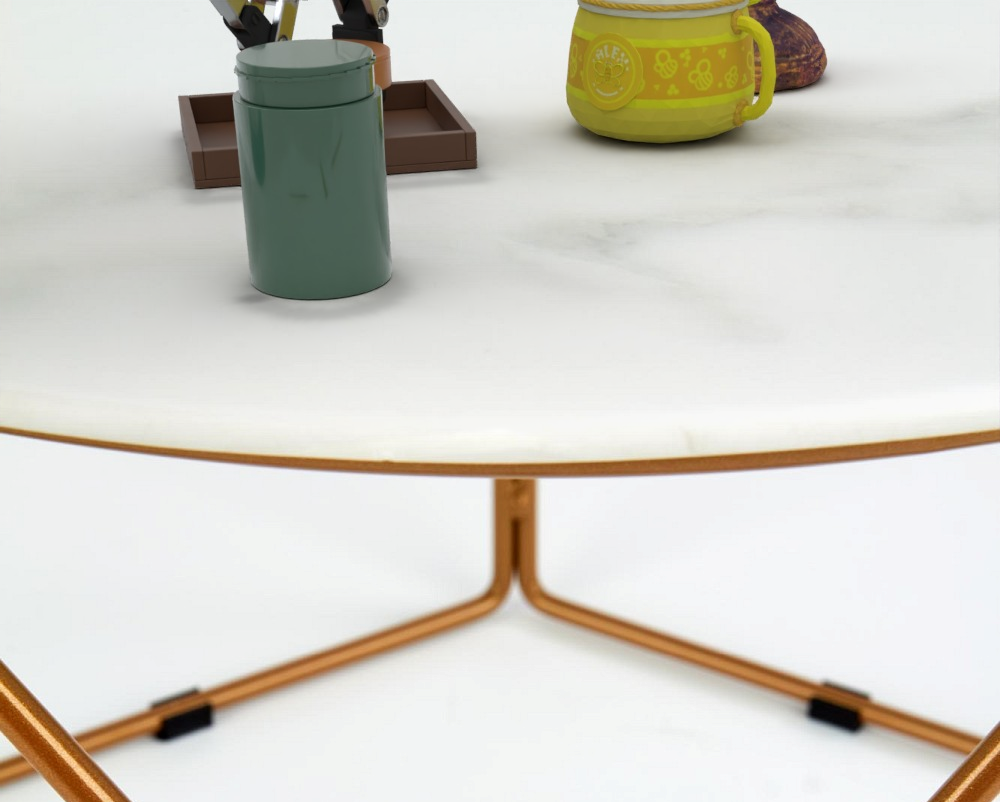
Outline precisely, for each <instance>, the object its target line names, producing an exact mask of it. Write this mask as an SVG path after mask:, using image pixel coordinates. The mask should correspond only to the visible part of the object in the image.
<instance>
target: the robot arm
mask: <svg viewBox="0 0 1000 802" xmlns="http://www.w3.org/2000/svg"><path fill="white" fill-rule="evenodd" d="M303 1H307V0H303ZM389 1H390V0H331V2H332V4H333V6H334V10H335V11H336V15H337V17H338V19H339V22H341V23H336V24H332V25H331V39H356V40H366V41H374V42H379V43H382V44H384V31H383V30H384V28H385V27H386V26H387V25H388V22H389V19H390V11H389V7H388V4H389ZM209 2H210V3H211V4H212V6H213V7H214V9H215V10H216V11H217V13H218V14H219V15H220V16H221V17H222V20H223V24H224V25H225V27H226V28H227V29H228V30H229V32H230V33H232V35H233V36H234V37H235V39H236V46H237V49H238V50H239V52H240V51H242V50H244V49H247V48H250V47H253V46H257V45H261V44H266V43H272V42H280V41H290V40H293V37H294V36H293V35H294V30H295V26H296V21H297V20H296V19H297V15H298V10H299V4H300V0H209ZM266 6H271V7H273V6H274V10H273V11H274V12H273V17H272V23H271V21H270V20H269V19H268V18H267V16H265V9H266ZM382 99H383V102H384V101H385V100H386V89H384V90H382Z"/></svg>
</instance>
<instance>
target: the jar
mask: <svg viewBox="0 0 1000 802" xmlns="http://www.w3.org/2000/svg"><path fill="white" fill-rule="evenodd" d="M326 39H327V38H326ZM326 39H325V38H324V39H322V38H319V39H318V38H315V39H313V38H312V39H307V38H306V39H292V40H290V41H280V42H272V43H266V44H261V45H257V46H253V47H250V48H247V49H244V50H242V51H240V50H239V52H238V53H236V54H235V65H234V68H233V73H234V74H235V75H236V77H237V84H238V85H237V86H238V90H237V89H236V91H234V92H235V93H234V94H233V107H234V117H235V127H236V137H237V147H238V157H239V167H240V177H241V185H240V187H241V197H242V206H243V217H244V226H245V235H246V246H247V247H246V248H247V255H248V256H247V257H248V266H249V276H250V277H249V278H250V282H251V284H252V286H253V287H254V288H255V289H257V290H258V291H260V292H262V293H265V294H267V295H271V296H275V297H280V298H285V299H293V300H295V299H296V300H327V299H329V300H330V299H340V298H346V297H352V296H356V295H360V294H364V293H367V292H371V291H373V290H375V289H378V288H380V287H381V286H383V285H385V284H387V283H388V281H390V279H391V278H392V275H393V270H392V269H393V268H392V251H391V250H392V249H391V233H390V231H391V230H390V215H389V214H390V213H389V212H390V211H389V194H388V193H389V192H388V177H387V176H388V174H387V173H386V154H385V136H384V117H383V99H382V89H381V88H380V87H379V86H378V85H376V84H375V80H374V64H375V63H376V54H374V53H373V51H372V49H371V48H370V47H368V46H366V45H363V44H360V43H355V42H350V41H342V40H326Z"/></svg>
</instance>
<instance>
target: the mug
mask: <svg viewBox="0 0 1000 802" xmlns="http://www.w3.org/2000/svg"><path fill="white" fill-rule="evenodd" d="M759 1H761V0H577V5H578V8H577V12H576V14H575V17H574V21H573V25H572V29H571V37H570V44H569V51H568V59H567V60H568V62H567V70H566V71H567V73H566V83H565V94H566V95H565V96H566V104H567V107H568V109H569V111H570V114H571V116H572V117H573V119H574V120H575V121H576V123H577V124H579V125H580V126H581V127H583V128H585V129H586V130H589V131H590V132H591V133H594V134H595V135H598V136H603V137H607V138H611V139H617V140H622V141H627V142H640V143H651V144H668V143H678V142H679V143H680V142H689V141H690V142H691V141H696V140H697V141H699V140H704V139H710V138H713V137H715V136H718V135H721V134H723V133H726V132H729V131H731V130H734V129H735V128H740V127H742V126H743V125H744V124H745V123H746V122H747V121H754V120H758V119H759V118H760V117H762V116H764V115H765V114H766V113H767V111H768V110H769V109H770V107H771V105H772V104H773V101H774V93H775V91H774V87H775V80H776V68H775V56H774V46H773V43H772V40H771V37H770V34H769V33H768V32H767V31H766V29H765V28H764V27H763V26H762V25H761V24H760V23H759V22H757V21H756V20H754V19H753V18H751V17H750V16H749V12H748V7H747V6H749V5H753V4H756V3H758V2H759ZM753 39H754V40H755V41H756V43H757V44H758V48H759V51H760V55H761V73H762V80H761V86H760V92H759V93H758V98H757V100H756V101H755V103H753V102H754V100H755V93H754V91H755V70H754V47H753Z"/></svg>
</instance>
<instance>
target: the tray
mask: <svg viewBox="0 0 1000 802" xmlns="http://www.w3.org/2000/svg"><path fill="white" fill-rule="evenodd" d="M235 92H236V91H232V92H218V93H199V94H189V95H187V94H186V95H185V94H184V95H178V96H177V100H178V108H179V117H180V125H181V132H182V136H183V141H184V144H185V149H186V153H187V159H188V162H189V166H190V171H191V176H192V179H193V184H194V189H207V188H218V187H219V188H221V187H222V188H223V187H233V186H241V177H240V167H239V157H238V147H237V137H236V127H235V117H234V107H233V94H234V93H235ZM383 117H384V136H385V154H386V173H387V175H391V174H392V175H395V174H396V175H397V174H407V173H421V172H437V171H448V170H463V169H473V168H474V169H476V168H478V160H477V159H478V154H477V153H478V148H477V146H478V145H477V131H476V130H475V128H474V127H473V126H472V125H471V124H470V123H469V121H468V120H467V119H466V118H465V116H464V115H463V114H462V112H460V110H459V109H458V108H457V106H455V104H454V103H453V102H452V100H451V98H449V97H448V96H447V94H446V93H445V92H444V91H443V89H442V88H441V87H440V86H439V84H438V83H437V82H436V80H435V79H433V78H431V79H414V80H398V81H397V80H396V81H392V83H391V86H389V87H388V88H386V100H385V101H384V102H383Z"/></svg>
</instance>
